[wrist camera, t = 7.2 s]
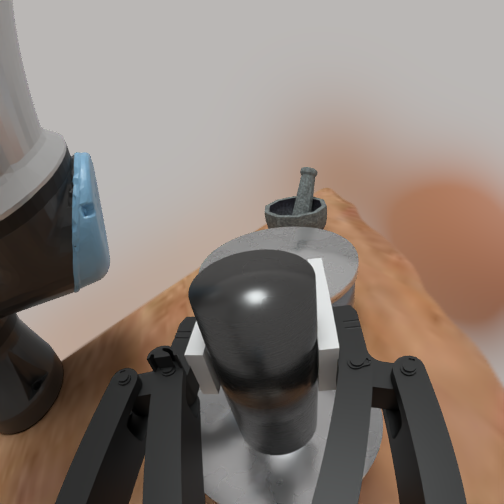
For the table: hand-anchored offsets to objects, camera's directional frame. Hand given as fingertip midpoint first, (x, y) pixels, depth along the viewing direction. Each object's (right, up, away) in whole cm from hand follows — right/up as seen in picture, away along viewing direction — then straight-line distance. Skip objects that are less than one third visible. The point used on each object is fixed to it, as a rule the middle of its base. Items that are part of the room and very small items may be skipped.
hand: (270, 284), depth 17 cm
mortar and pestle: (+7, +3, +32) cm, 33 cm away
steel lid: (+1, -9, -1) cm, 9 cm away
